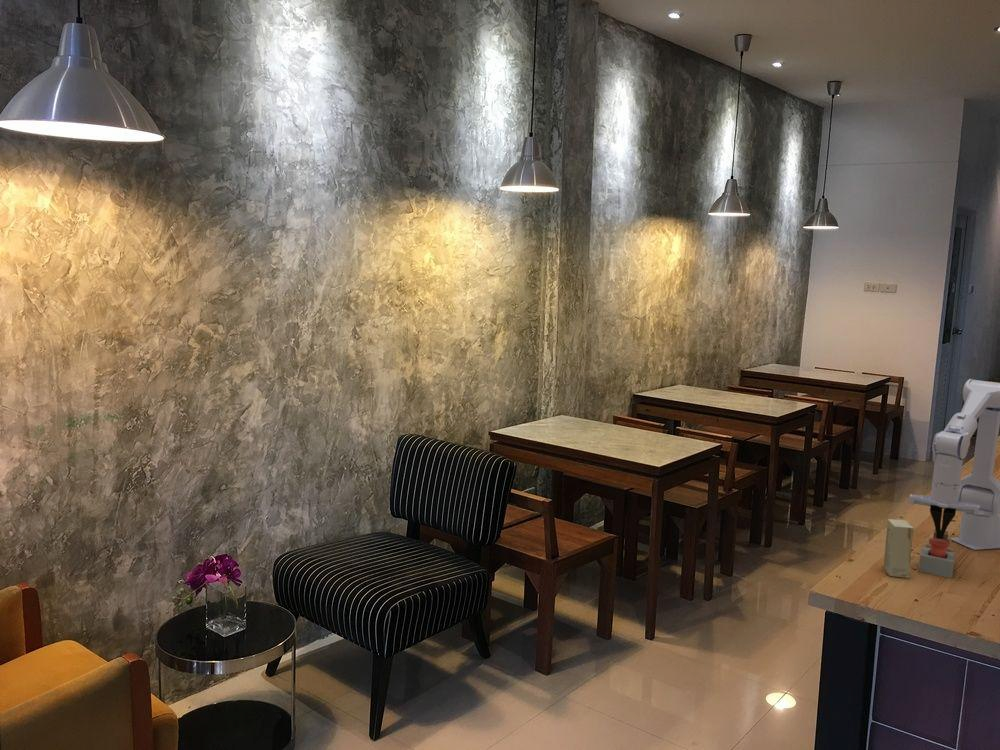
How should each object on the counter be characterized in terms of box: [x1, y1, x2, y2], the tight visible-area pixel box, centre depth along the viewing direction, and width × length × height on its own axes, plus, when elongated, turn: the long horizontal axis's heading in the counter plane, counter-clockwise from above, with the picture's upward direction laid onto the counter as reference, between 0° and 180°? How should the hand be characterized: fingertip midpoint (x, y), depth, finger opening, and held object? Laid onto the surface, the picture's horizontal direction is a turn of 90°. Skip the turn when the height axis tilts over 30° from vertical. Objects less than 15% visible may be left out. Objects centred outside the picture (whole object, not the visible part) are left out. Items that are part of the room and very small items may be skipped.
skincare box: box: [882, 518, 914, 579], centre depth 192 cm, size 6×4×12 cm
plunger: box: [928, 537, 951, 558], centre depth 194 cm, size 4×4×5 cm
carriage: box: [925, 528, 954, 553], centre depth 200 cm, size 6×6×7 cm
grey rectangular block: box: [918, 546, 956, 579], centre depth 195 cm, size 7×7×4 cm
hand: (939, 537), depth 194 cm, fingers closed
